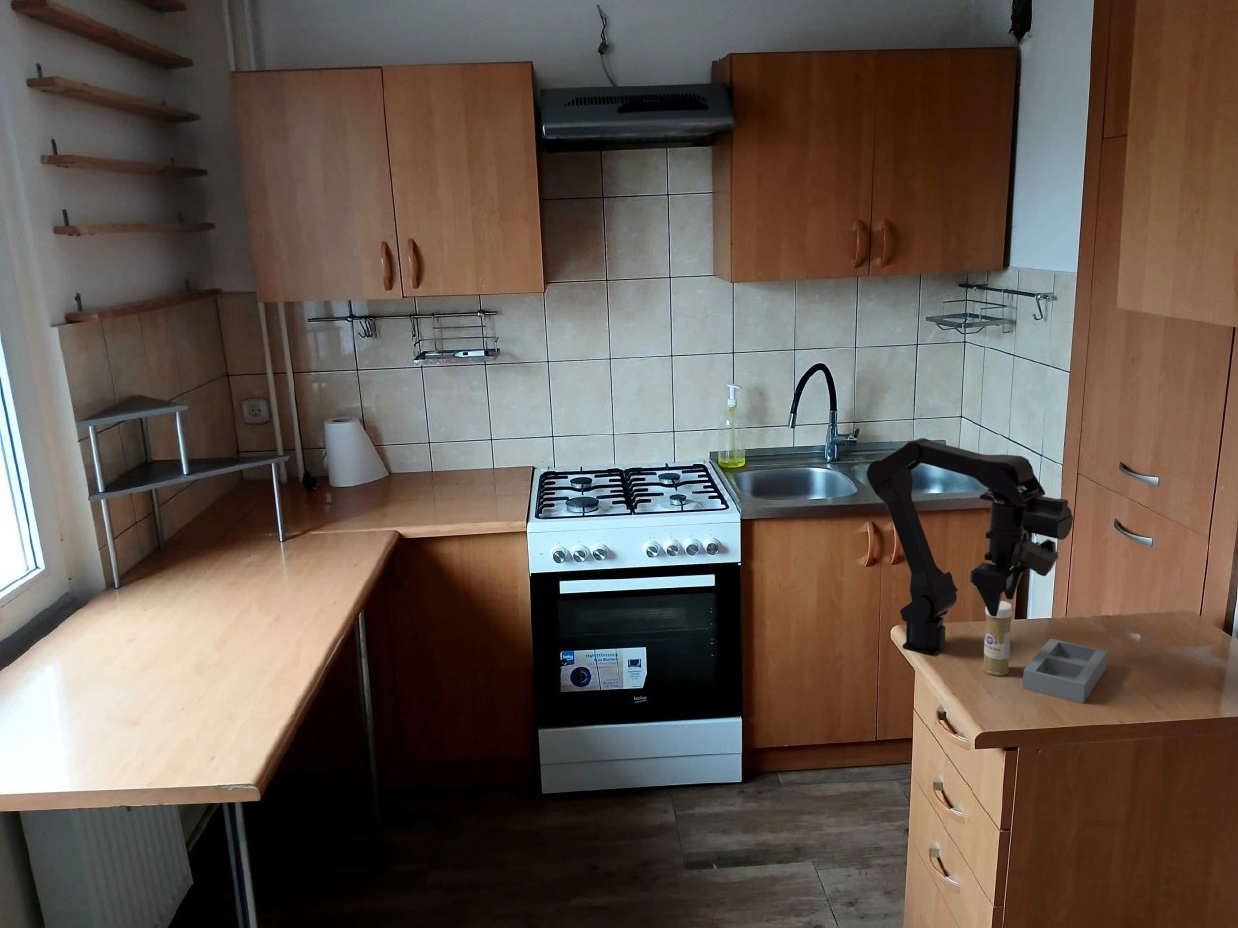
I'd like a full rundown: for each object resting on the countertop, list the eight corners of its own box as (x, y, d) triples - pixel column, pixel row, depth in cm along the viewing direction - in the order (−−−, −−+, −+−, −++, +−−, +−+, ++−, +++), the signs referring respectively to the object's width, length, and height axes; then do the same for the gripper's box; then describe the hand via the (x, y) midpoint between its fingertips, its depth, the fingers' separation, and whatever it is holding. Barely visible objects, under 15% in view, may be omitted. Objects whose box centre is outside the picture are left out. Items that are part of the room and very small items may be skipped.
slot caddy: (1022, 687, 165) (1023, 670, 164) (1049, 655, 177) (1050, 638, 176) (1083, 703, 159) (1084, 684, 158) (1106, 668, 171) (1107, 650, 170)
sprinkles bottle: (978, 671, 172) (980, 604, 169) (990, 663, 175) (993, 597, 172) (1002, 679, 169) (1005, 610, 166) (1013, 670, 172) (1017, 603, 169)
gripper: (1039, 549, 153) (1032, 636, 157) (1069, 520, 167) (1062, 600, 171) (971, 538, 160) (966, 621, 164) (1005, 510, 174) (1000, 587, 178)
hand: (1001, 607), depth 169 cm, fingers open, 9 cm apart
